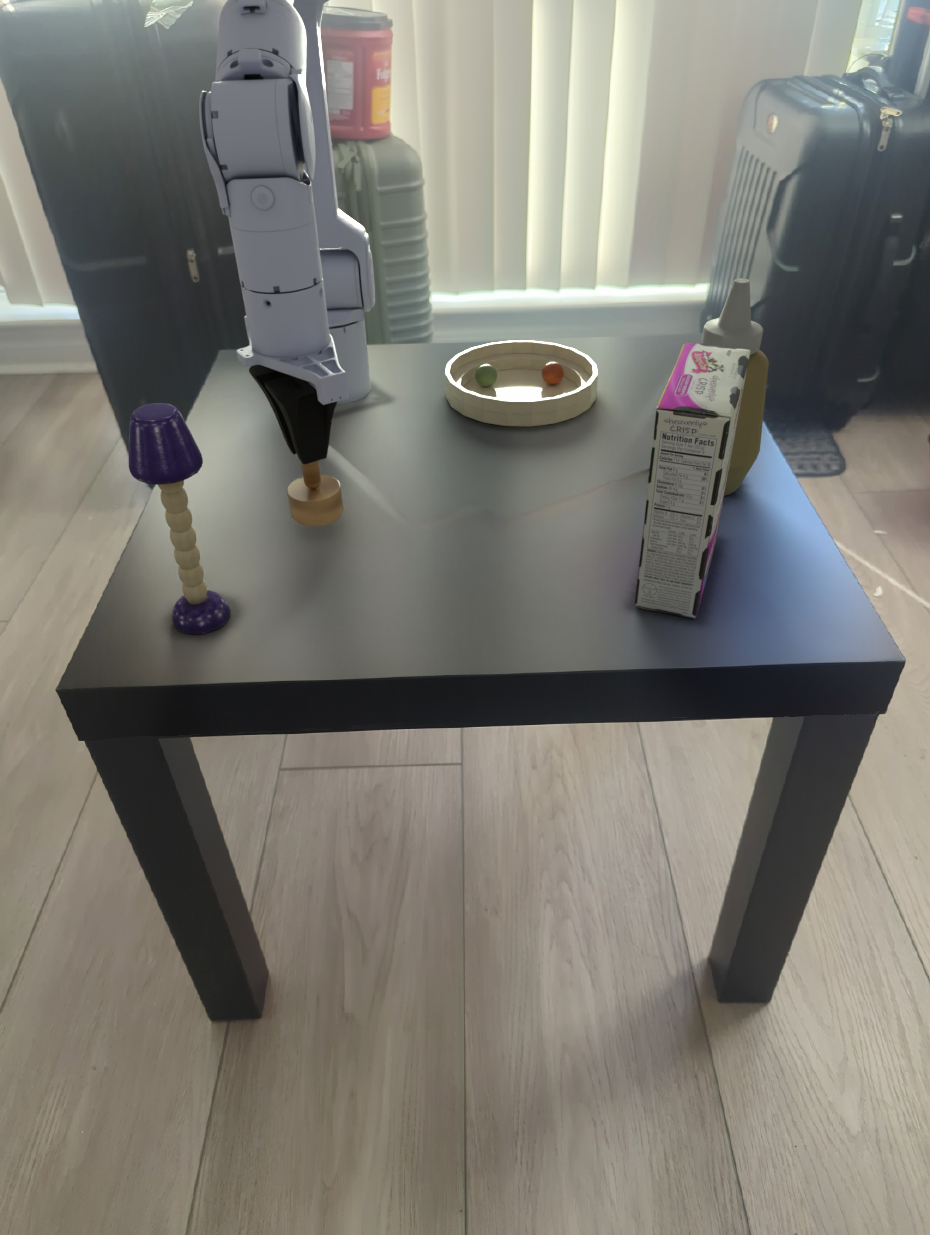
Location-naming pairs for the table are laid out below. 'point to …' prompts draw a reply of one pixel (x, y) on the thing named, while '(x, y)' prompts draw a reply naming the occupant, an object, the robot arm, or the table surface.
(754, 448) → the squeeze bottle
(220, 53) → the robot arm
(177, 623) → the toy lamp
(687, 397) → the candy bar box
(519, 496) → the table surface
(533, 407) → the bowl
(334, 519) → the wooden knob stamp
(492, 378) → the green bead
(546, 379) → the orange bead
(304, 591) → the table surface
